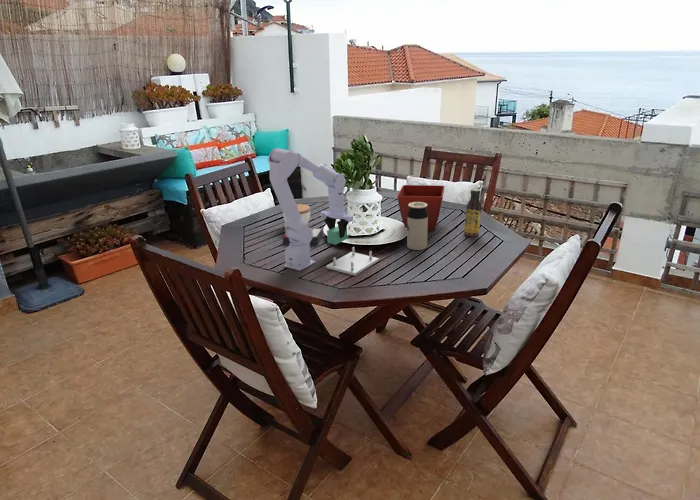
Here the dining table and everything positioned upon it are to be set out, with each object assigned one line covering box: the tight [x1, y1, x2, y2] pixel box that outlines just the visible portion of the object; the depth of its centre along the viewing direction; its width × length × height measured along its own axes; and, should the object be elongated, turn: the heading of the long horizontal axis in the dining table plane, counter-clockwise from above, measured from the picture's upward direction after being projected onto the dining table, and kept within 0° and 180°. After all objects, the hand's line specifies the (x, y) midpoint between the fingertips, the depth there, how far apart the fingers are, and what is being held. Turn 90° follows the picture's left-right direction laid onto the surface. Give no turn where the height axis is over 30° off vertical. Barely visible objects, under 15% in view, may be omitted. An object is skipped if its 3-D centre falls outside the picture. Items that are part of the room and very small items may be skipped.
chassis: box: [325, 246, 380, 276], centre depth 181 cm, size 16×13×4 cm
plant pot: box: [397, 184, 445, 232], centre depth 217 cm, size 19×19×17 cm
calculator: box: [282, 228, 324, 246], centre depth 208 cm, size 11×4×15 cm
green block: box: [326, 226, 349, 245], centre depth 193 cm, size 8×4×5 cm, turn 144°
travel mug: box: [406, 202, 428, 251], centre depth 193 cm, size 8×8×18 cm
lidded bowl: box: [282, 203, 311, 224], centre depth 224 cm, size 13×13×11 cm
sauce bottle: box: [463, 188, 482, 237], centre depth 204 cm, size 7×6×20 cm
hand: (337, 236), depth 193 cm, fingers closed on green block, 4 cm apart
